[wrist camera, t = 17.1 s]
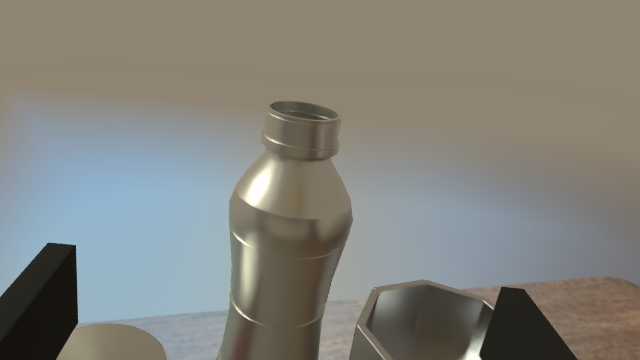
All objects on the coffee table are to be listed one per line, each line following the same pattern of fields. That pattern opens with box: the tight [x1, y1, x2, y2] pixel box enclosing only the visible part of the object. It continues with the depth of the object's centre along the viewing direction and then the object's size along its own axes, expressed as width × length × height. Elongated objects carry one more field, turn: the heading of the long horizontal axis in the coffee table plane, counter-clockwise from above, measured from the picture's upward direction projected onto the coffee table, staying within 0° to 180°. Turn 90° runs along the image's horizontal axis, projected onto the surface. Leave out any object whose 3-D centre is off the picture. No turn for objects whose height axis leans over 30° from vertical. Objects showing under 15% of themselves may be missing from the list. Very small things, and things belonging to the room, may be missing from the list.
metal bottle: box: [216, 101, 353, 360], centre depth 28 cm, size 6×7×20 cm
